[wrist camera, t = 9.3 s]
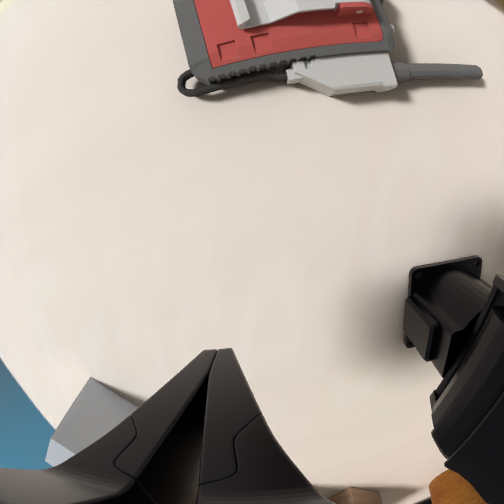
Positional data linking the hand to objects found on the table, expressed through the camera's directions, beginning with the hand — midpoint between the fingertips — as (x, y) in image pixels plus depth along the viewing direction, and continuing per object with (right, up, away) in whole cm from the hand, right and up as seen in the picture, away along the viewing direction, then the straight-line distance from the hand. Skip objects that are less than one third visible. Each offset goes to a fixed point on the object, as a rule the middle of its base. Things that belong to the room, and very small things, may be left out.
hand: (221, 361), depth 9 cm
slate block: (-13, -12, +16) cm, 24 cm away
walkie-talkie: (+6, +17, +7) cm, 19 cm away
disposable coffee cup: (+30, -30, +20) cm, 47 cm away
